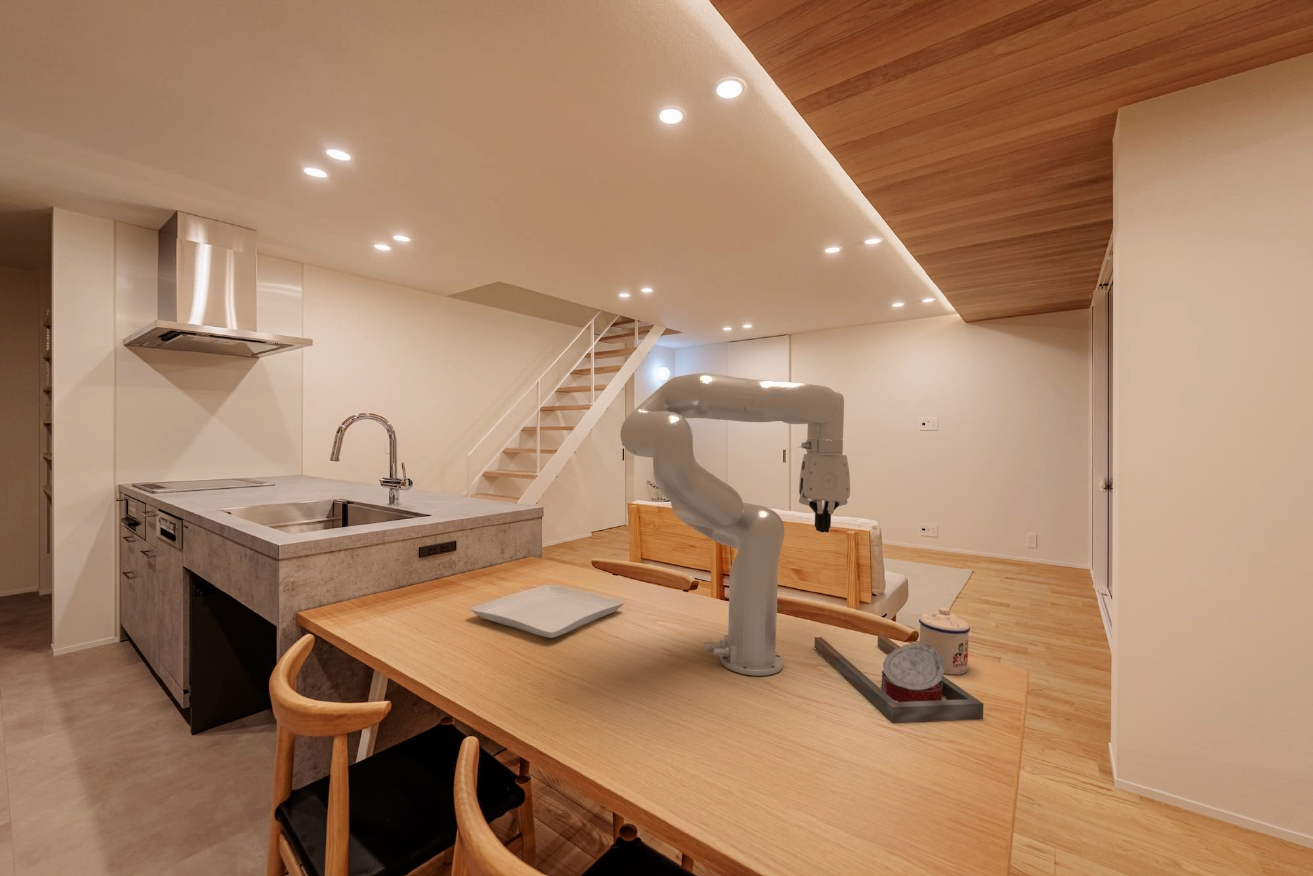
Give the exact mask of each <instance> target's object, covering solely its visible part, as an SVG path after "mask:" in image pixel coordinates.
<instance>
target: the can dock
mask: <svg viewBox="0 0 1313 876" xmlns="http://www.w3.org/2000/svg"><path fill="white" fill-rule="evenodd" d="M876 646H878V647H879V648H880V649H879V648H878V647H877V648H878V649H879V650H880V651H882V650H883V651H882V652H883V653H884V654H886V655H887V654H888V655H889V654H890V653H891V652H892V651H893V650H895V649H897V648H899V647H901V646H900V645H899V644H897V643H896V642H894V641H892V640H891V639H890V638H888V637H887V636H885V635H877V645H876ZM814 648H816V650H818V652H820V654H822V655H821V657H823V656H824V657H823V659H825V658H826V659H825V661H827V660H828V661H829V662H830V663H829V662H828V661H827V662H828V663H829V664H830V665H831V664H832V665H833V666H834V667H835V668H836V669H837V670H838V671H839V672H840V673H841V674H840V673H839V672H838V671H837V670H836V669H835V668H834V667H833V666H832V665H831V666H832V667H833V668H834V669H835V670H836V671H837V672H838V673H839V674H840V675H841V676H842V677H843V678H844V679H846V680H847V681H848V682H849V683H850V684H851V685H852V686H853V687H854V688H855V689H856V690H857V691H858V692H859V693H860V692H861V693H860V694H862V695H863V697H865V699H867V701H869V703H871V705H873V706H874V707H875V708H876V709H877V710H878V711H879V712H880V713H881V714H882V715H883V716H884V717H885V718H887V720H888V721H889V722H890V723H892V724H895V723H912V722H914V723H916V722H917V723H918V722H939V721H940V722H941V721H960V720H963V721H964V720H982V719H984V703H983V702H982V701H981V700H979V699H978V698H976V697H975V696H973V695H972V694H970V693H969V692H967V691H965V690H964V689H963V688H961V687H960V686H959V685H957V684H956V683H955V682H953V681H951V680H950V679H948V678H947V677H945V676H944V675H943V677H942V679H941V682H942V684H943V686H942V697H944V698H946V699H944V700H943V699H942V700H939V701H913V702H897V701H895V700H893V699H892V698H891V697H889V696H888V695H887V694H886V693H885V692H884V691H883V690H882V688H880V687H879V685H877V684H876V683H874V682H873V680H871V679H870V678H869V677H868V676H867V675H865V674H864V673H863V672H862V671H861V670H860V669H858V668H857V667H856V666H855V665H854V664H853V663H851V661H849V659H848V658H846V657H845V656H844V655H842V654H841V653H840V652H839V651H838V650H837V649H836V648H835V647H834V646H832V645H831V644H830V643H829V642H828V641H827V640H825V639H824V638H823V637H822V636H819V637H817V636H814ZM816 650H815V651H816ZM818 652H817V653H818ZM820 654H819V655H820Z"/></svg>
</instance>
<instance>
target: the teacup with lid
mask: <svg viewBox="0 0 1313 876" xmlns="http://www.w3.org/2000/svg"><path fill="white" fill-rule="evenodd" d="M918 622H919V625H920V626H919V643H922V644H927V645H931V646H932V647H933V648H934V649H936V650H937V651H938V652H939V654H940V656H941V658H942V659H943V665H944V674H943V675H954V676H957V675H962V674H966V673H967V672H968V670H969V668H968V666H969V665H968V662H969V632H970V631H971V628H970V625H969V623H967V622H966V621H965V620H964V619H961V618H959V617H957V616H956V615H955V614H952V613H951V610H950V609H949V608H948V607H938V611H934V612H931V613H926V614H925V613H924V614H922V615H921V616H920V617H919V619H918Z"/></svg>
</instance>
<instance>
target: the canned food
mask: <svg viewBox="0 0 1313 876" xmlns="http://www.w3.org/2000/svg"><path fill="white" fill-rule="evenodd" d="M882 668H883V669H882V671H881V690H883V691H884V692H885V693H886V694H887V695H888V696H889V697H891V698H892V699H893V700H894V701H895V700H896V701H895V702H913V701H939V700H943V695H942V686H943V684H942V682H941V679H942V677H943V676H944V675H945V674H944V665H943V659H942V658H941V656H940V654H939V652H938V651H937V650H936V649H934V648H933V647H932V646H931V645H927V644H922V643H920V642H916V643H909V644H904V645H902V646H900V647H899V648H897V649H895V650H893V651H892V652H891V653H890V654H889V655H887V654H886V657H885V659H884V661H883V662H882Z"/></svg>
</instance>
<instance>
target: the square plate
mask: <svg viewBox="0 0 1313 876" xmlns="http://www.w3.org/2000/svg"><path fill="white" fill-rule="evenodd" d="M625 603H626V601H625V600H622V599H618V598H613V597H610V596H606V595H602V594H598V593H594V592H589V591H585V590H580V589H577V588H571V587H565V586H561V585H555V584H550V583H549V584H545V585H541V586H538V587H537V586H536V587H533V588H530V589H526V590H523V591H518V592H515V593H511V594H508V595H505V596H501V597H498V598H496V599H493V600H490V601H486V602H484V603H481V604H479V605H475V606H472V607H470V608H469V610H470V611H471V612H473V613H474V614H475V615H476V616H478V617H480V618H482V619H483V620H487V621H490V622H494V623H497V624H500V625H504V626H506V627H510V628H513V629H517V630H521V631H524V632H527V633H530V634H534V635H537V636H540V637H545V638H549V639H553V638H557V637H559V636H562V635H565V634H567V633H569V632H571V631H574V630H576V629H578V628H580V627H583V626H586V625H587V624H589V623H591V622H595V621H597V620H599V619H600V618H602V617H605V616H608V615H609V614H612V613H614V612H616V611H618V610H619V609H620V608H622V606H623V605H624V604H625Z"/></svg>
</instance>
